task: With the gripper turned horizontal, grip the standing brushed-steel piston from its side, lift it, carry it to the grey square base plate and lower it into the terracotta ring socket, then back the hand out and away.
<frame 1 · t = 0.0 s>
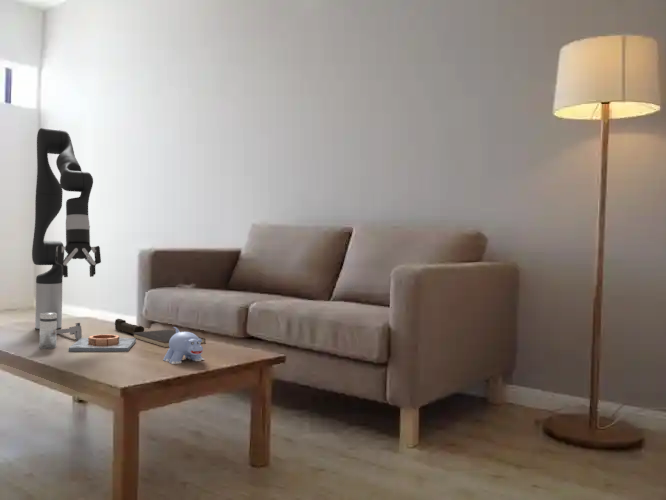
hand: (78, 276, 218), 22 cm above the table, tool pointing down, fingers open, 8 cm apart
hand tool: (125, 333, 242), on the table
caliper: (66, 337, 230), on the table
hippopotamus toy: (185, 362, 195), on the table
steel piston: (47, 347, 209), on the table
hardcover book: (168, 342, 230), on the table
grey square base plate: (103, 346, 214), on the table
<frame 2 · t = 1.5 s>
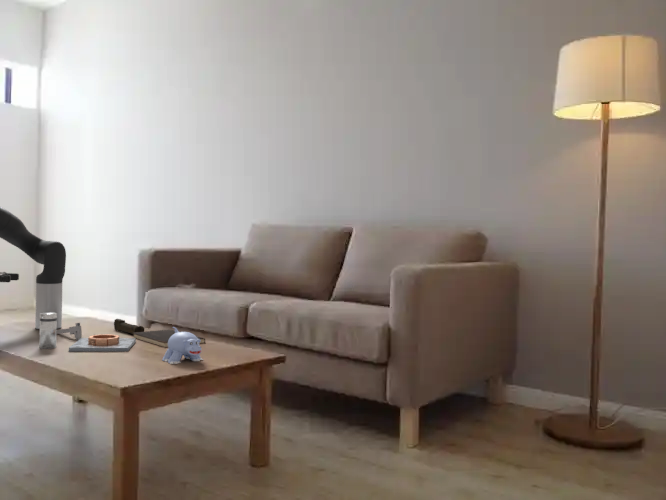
hand: (14, 277, 207), 22 cm above the table, tool horizontal, fingers open, 8 cm apart
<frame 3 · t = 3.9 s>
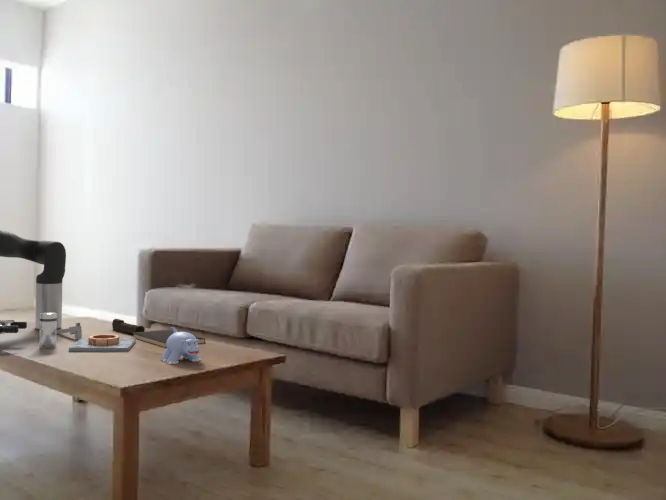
hand: (22, 327, 208), 6 cm above the table, tool horizontal, fingers open, 8 cm apart
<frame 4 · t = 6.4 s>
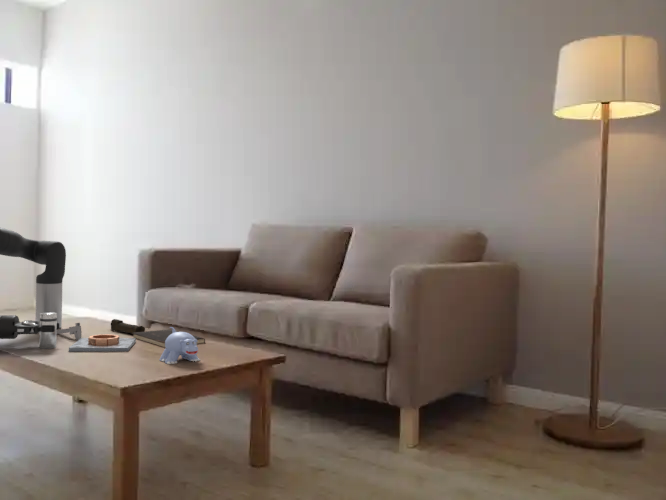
hand: (56, 327, 209), 7 cm above the table, tool horizontal, fingers closed on steel piston, 5 cm apart
steel piston: (47, 347, 209), on the table, touching gripper
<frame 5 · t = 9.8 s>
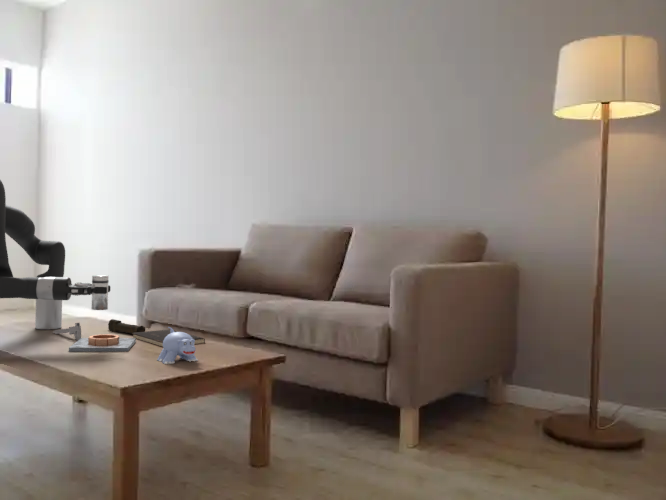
hand: (108, 289, 213), 19 cm above the table, tool horizontal, fingers closed on steel piston, 5 cm apart
steel piston: (99, 309, 213), point 12 cm above the table, touching gripper
when the fingers open (9 cm above the table, at t = 13.3 s): steel piston drops 1 cm, resting on grey square base plate.
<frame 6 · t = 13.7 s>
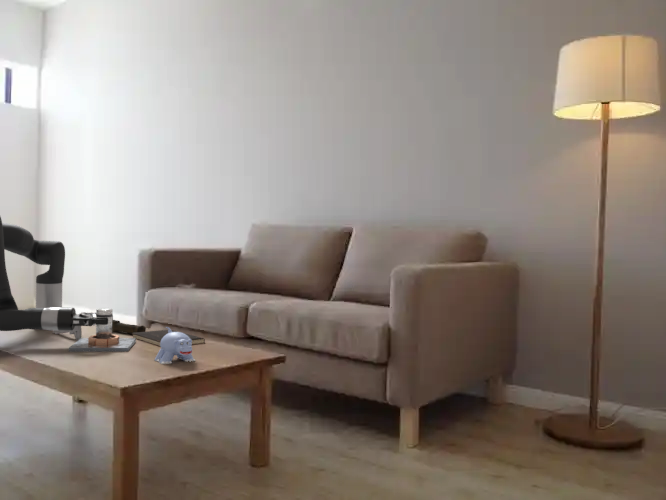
hand: (110, 319, 214), 9 cm above the table, tool horizontal, fingers open, 8 cm apart
steel piston: (103, 342, 214), point 1 cm above the table, touching grey square base plate
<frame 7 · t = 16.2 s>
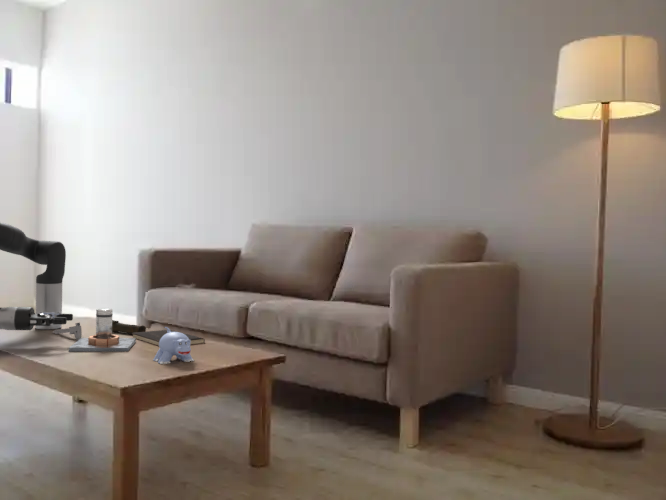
hand: (69, 318, 212), 9 cm above the table, tool horizontal, fingers open, 8 cm apart
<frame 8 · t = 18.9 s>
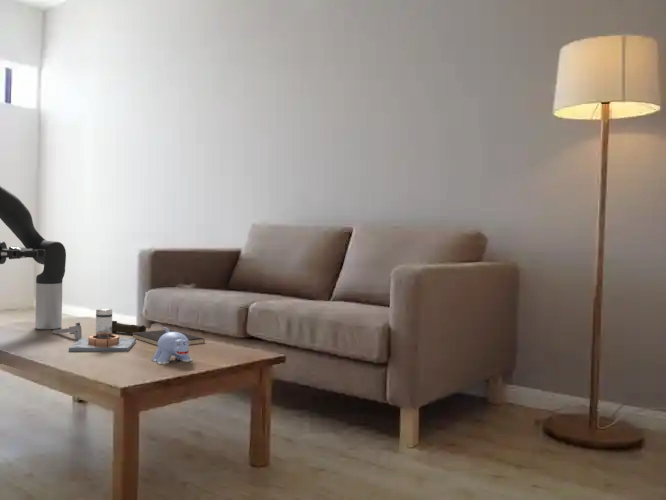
hand: (41, 253, 213), 30 cm above the table, tool horizontal, fingers open, 8 cm apart
at the end: steel piston 0.1 cm off-centre on the grey square base plate, point 1.2 cm above the grey square base plate's base; steel piston tilted 0°; the gripper is holding nothing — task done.
